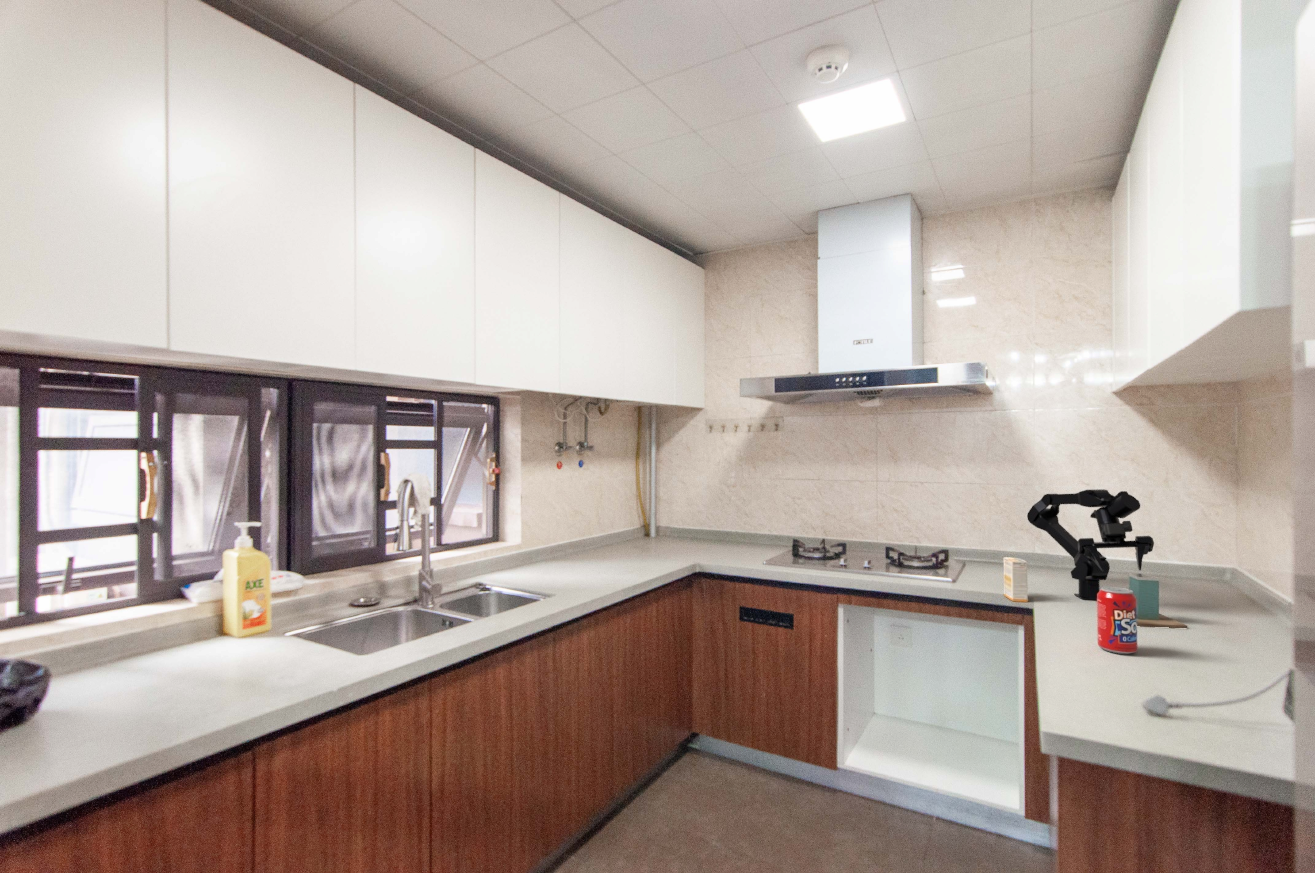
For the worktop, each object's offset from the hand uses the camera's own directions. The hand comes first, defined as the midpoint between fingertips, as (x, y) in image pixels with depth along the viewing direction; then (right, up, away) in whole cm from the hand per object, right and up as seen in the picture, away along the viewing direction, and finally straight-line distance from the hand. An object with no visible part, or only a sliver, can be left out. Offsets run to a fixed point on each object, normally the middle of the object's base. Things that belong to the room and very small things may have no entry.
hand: (1121, 570), depth 186 cm
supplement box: (-22, -13, +16) cm, 31 cm away
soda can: (-27, -12, -35) cm, 46 cm away
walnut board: (0, -13, -9) cm, 16 cm away
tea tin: (0, -12, -9) cm, 14 cm away
